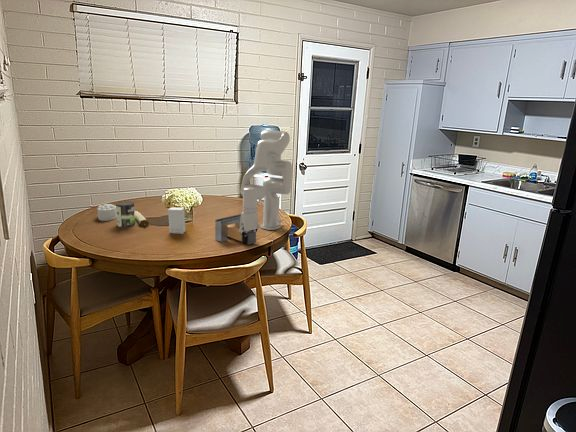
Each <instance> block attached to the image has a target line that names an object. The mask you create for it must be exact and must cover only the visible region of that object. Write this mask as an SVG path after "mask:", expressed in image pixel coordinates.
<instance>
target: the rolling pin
mask: <svg viewBox="0 0 576 432" xmlns="http://www.w3.org/2000/svg"><path fill="white" fill-rule="evenodd" d="M134 212H135V221H137V223H138V224H139V225H140V227H147V226H149V221H148V220H147V219H146V218H145V217H144V215H142V213H141V212H140V211H139V210H136V209H134Z"/></svg>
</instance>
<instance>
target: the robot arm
mask: <svg viewBox="0 0 576 432" xmlns="http://www.w3.org/2000/svg"><path fill="white" fill-rule="evenodd" d="M290 140H291V137H290V134H289V132H287V131H284V130H283V131H282V130H269V129H266V130H263V131H261V133H260V140H259V141H258V142H257V143H256V149H255V155H254V159H253V165H252V166H251V167H250V168H249V169H248V170H247V171H246V172H245V174H244V175H243V177H242V180H241V184H240V186H241V187H240V194H241V196H242V212H241V213H240V214H241V218H240V229H239V231H238V232H239V233H240V234H241V235H242V236H243V242H242V243H243V244H246V245H248V244H247V232H248V231H254V232H256V233H257V232H258V230H259V228H261V229H263V230H268V231H269V230H270V231H272V230H273V231H275V230H280V229H281V224H280V223H283V222H284V219H282V218H281V219H279V214H280V197H279V195H289V194H290V193H291V191H292V183H293V163H292V162H291V161H289V160H284V159H282V154H283V153H284V151H285V150H286V148H287V147H288V145H289V144H290V142H291V141H290ZM262 172H266V174H268V175H271V176H269V177H266V178H264V179H263V181H262V185H259V184H251V183H250V181H251V179H252V178H253V177H254V176H255V175H257V174H260V173H262ZM274 176H277V177H274ZM281 177H282V178H281ZM278 194H279V195H278ZM258 200H263V213H262V214H263V216H262V217H263V218H262V223H261V224H260V225H259V218H258V216H259V215H258V212H257V210H258V206H257V205H258V203H257V202H258ZM242 230H243V231H242ZM244 232H245V233H244Z"/></svg>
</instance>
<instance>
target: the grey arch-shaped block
mask: <svg viewBox="0 0 576 432" xmlns="http://www.w3.org/2000/svg"><path fill="white" fill-rule="evenodd" d="M240 218H241V213H239V214H235V215H231V216H225V217H221V218H216V219H215V220H214V221H215V226H214V227H215V234H214V237H215V239H214V240H215V241H217V242H219V241H220V242H219V243H223V242H227V241H228V236H227V235H228V225H234V226H236V227H239V228H240ZM226 240H227V241H226Z"/></svg>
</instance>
